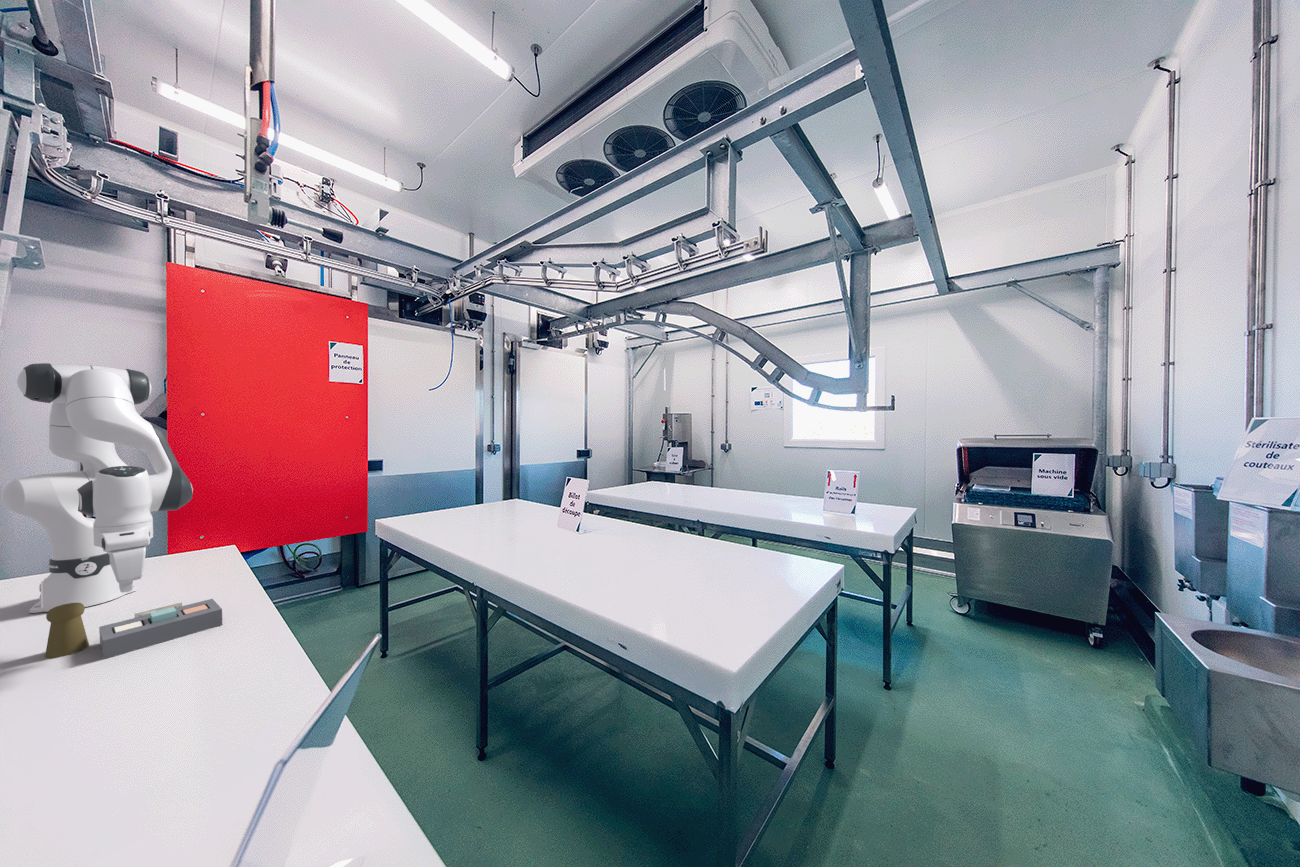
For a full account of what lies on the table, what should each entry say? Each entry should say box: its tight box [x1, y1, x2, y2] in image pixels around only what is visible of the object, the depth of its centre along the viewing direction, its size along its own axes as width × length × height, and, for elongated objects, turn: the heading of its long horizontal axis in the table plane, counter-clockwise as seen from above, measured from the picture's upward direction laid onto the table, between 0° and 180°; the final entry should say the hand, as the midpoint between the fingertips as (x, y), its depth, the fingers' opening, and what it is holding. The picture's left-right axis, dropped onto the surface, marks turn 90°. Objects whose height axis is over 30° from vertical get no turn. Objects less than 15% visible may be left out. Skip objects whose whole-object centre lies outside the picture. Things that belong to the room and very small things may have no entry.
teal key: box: [150, 607, 177, 624], centre depth 104 cm, size 4×4×3 cm
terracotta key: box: [183, 604, 208, 615], centre depth 109 cm, size 4×4×3 cm
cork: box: [44, 603, 90, 659], centre depth 96 cm, size 6×6×11 cm
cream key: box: [114, 621, 143, 633], centre depth 99 cm, size 4×4×3 cm
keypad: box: [98, 598, 223, 660], centre depth 105 cm, size 13×19×5 cm
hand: (125, 590), depth 99 cm, fingers closed
